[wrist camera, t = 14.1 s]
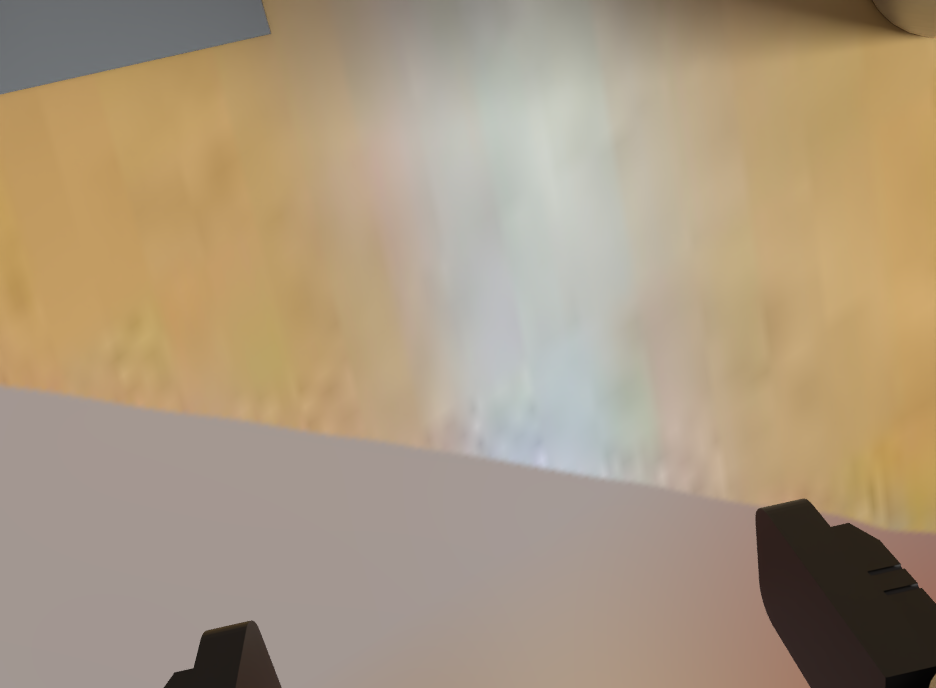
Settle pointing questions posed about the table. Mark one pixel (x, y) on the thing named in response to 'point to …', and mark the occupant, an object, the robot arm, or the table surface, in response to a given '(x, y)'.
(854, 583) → the robot arm
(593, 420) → the table surface
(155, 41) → the card
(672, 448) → the table surface
